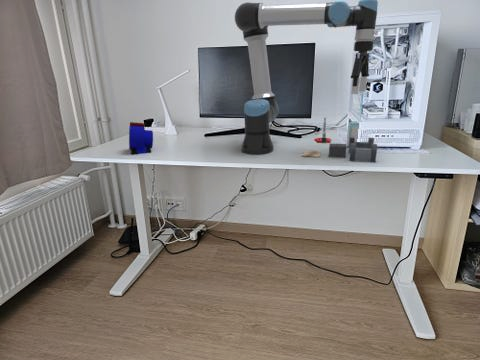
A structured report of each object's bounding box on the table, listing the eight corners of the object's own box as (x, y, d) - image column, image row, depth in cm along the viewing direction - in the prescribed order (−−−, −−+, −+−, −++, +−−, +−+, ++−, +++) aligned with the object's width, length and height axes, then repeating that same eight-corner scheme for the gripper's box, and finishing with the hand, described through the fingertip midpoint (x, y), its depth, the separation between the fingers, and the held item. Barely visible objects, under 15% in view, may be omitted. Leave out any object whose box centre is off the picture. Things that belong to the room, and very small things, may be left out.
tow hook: (314, 139, 171) (315, 143, 162) (315, 115, 167) (316, 117, 158) (330, 139, 169) (332, 143, 161) (331, 115, 165) (333, 117, 157)
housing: (349, 160, 131) (351, 144, 128) (348, 152, 143) (349, 137, 141) (375, 162, 128) (377, 145, 126) (371, 152, 141) (373, 137, 138)
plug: (328, 157, 137) (329, 146, 135) (328, 154, 142) (329, 143, 140) (345, 158, 135) (346, 146, 134) (345, 154, 140) (346, 144, 138)
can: (353, 144, 156) (355, 120, 152) (365, 147, 150) (367, 122, 146) (343, 146, 153) (345, 122, 149) (354, 149, 147) (356, 124, 143)
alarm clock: (129, 149, 163) (124, 120, 158) (153, 146, 167) (149, 118, 162) (130, 155, 152) (125, 124, 147) (156, 152, 156) (152, 122, 151)
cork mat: (301, 156, 139) (301, 155, 139) (303, 152, 146) (303, 150, 146) (320, 157, 137) (320, 156, 137) (321, 152, 144) (321, 151, 144)
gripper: (366, 39, 121) (360, 95, 128) (379, 41, 140) (373, 90, 148) (346, 40, 125) (341, 95, 132) (362, 42, 144) (356, 90, 152)
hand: (358, 92), depth 140 cm, fingers open, 13 cm apart
